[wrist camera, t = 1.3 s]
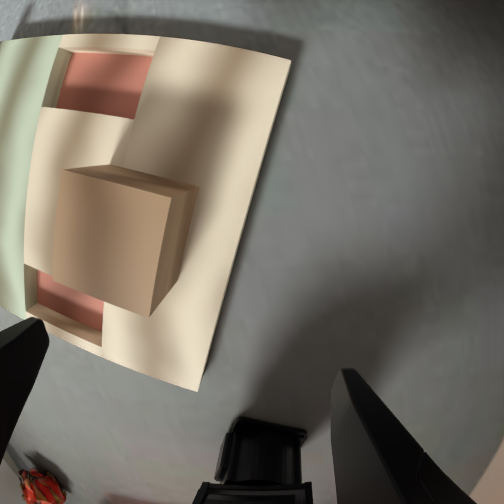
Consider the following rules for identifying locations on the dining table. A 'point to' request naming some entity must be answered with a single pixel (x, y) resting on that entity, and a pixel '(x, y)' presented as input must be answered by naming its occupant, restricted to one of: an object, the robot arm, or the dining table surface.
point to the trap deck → (139, 159)
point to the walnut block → (121, 234)
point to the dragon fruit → (40, 488)
